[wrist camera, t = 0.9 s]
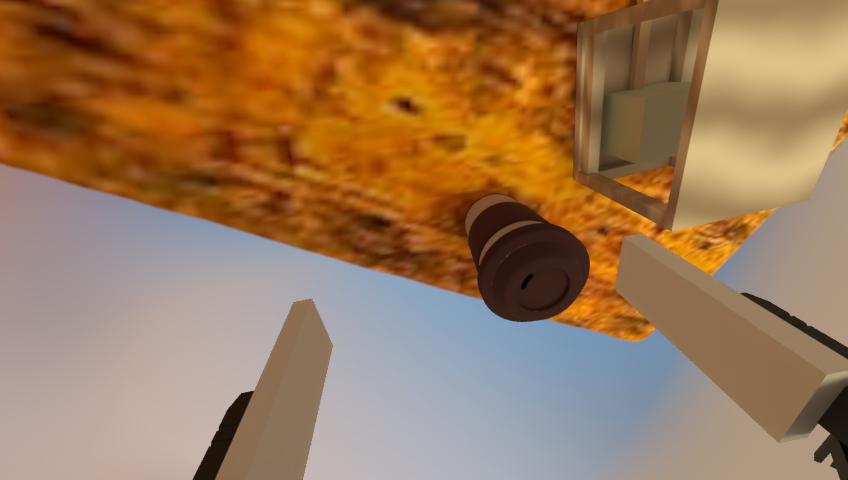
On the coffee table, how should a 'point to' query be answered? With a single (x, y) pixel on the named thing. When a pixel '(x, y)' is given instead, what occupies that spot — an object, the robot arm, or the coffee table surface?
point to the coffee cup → (524, 260)
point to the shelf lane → (615, 77)
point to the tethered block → (643, 111)
